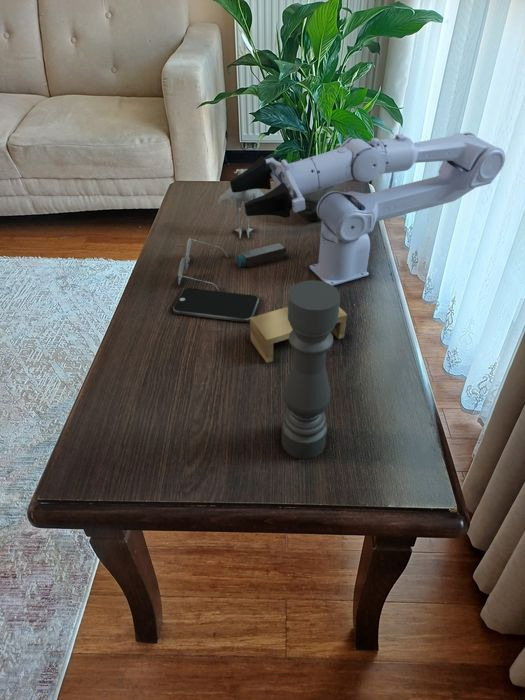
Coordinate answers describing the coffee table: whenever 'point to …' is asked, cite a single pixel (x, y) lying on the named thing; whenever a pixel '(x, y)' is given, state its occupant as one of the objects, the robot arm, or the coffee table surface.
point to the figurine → (240, 200)
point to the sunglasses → (189, 261)
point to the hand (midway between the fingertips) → (238, 198)
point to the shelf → (281, 330)
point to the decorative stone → (313, 203)
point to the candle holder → (309, 367)
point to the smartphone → (216, 305)
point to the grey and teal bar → (261, 255)
